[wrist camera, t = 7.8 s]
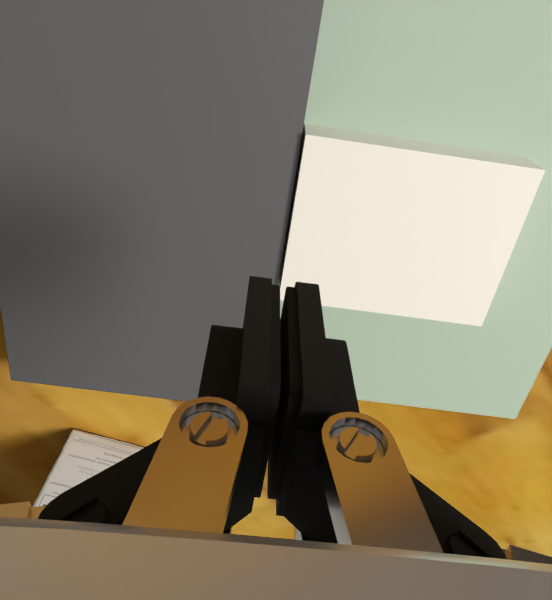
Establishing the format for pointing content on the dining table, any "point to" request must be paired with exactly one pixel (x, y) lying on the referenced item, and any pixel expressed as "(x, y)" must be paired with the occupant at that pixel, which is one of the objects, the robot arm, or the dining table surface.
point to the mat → (460, 132)
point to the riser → (143, 180)
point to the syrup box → (82, 462)
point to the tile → (404, 223)
